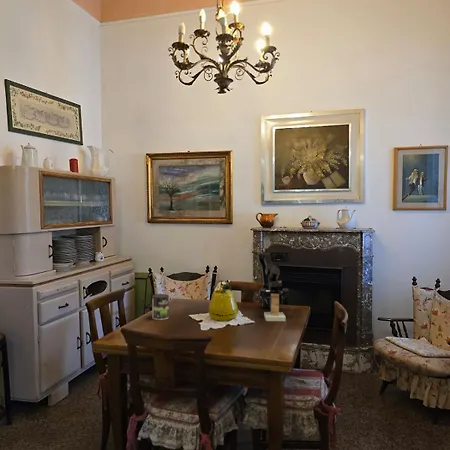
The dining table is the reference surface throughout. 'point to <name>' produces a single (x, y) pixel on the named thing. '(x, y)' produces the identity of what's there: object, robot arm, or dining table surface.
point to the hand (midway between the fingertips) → (275, 303)
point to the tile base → (274, 317)
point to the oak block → (274, 304)
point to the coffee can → (160, 306)
